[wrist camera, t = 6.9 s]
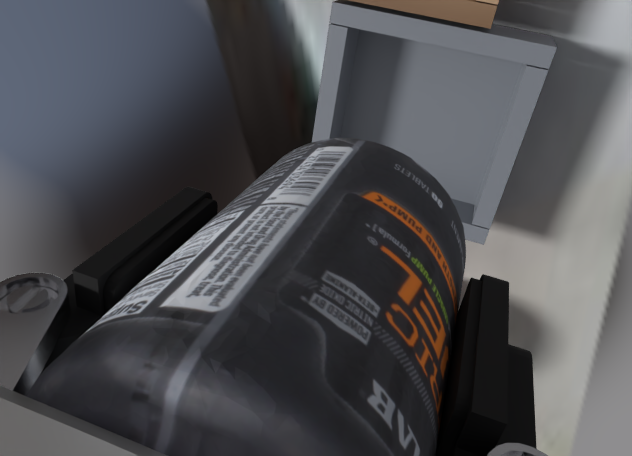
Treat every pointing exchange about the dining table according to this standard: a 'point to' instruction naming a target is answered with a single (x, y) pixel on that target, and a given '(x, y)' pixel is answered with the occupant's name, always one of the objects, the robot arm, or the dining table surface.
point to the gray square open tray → (434, 97)
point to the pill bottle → (286, 320)
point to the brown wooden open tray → (445, 9)
